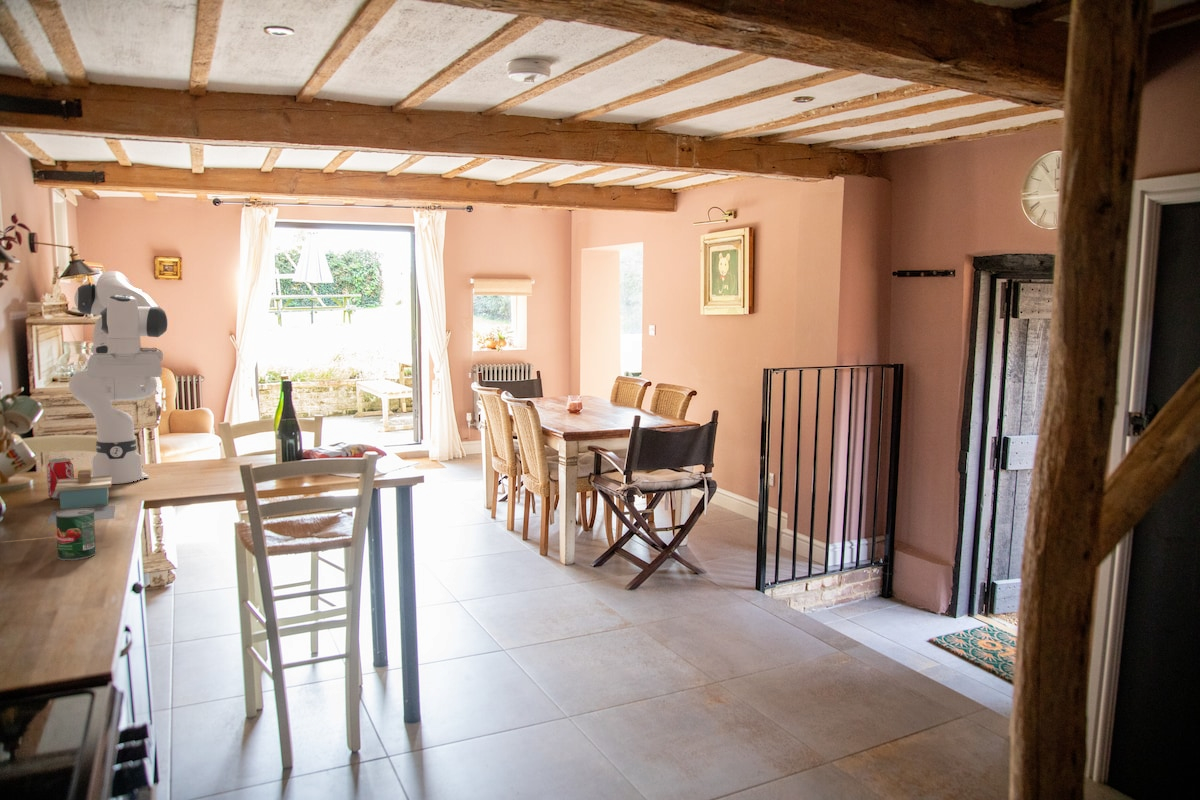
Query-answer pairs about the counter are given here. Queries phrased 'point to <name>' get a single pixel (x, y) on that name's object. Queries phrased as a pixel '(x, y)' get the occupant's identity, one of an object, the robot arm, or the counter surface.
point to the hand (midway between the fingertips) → (126, 392)
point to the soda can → (58, 474)
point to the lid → (84, 482)
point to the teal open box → (84, 498)
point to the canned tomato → (75, 534)
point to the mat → (98, 514)
